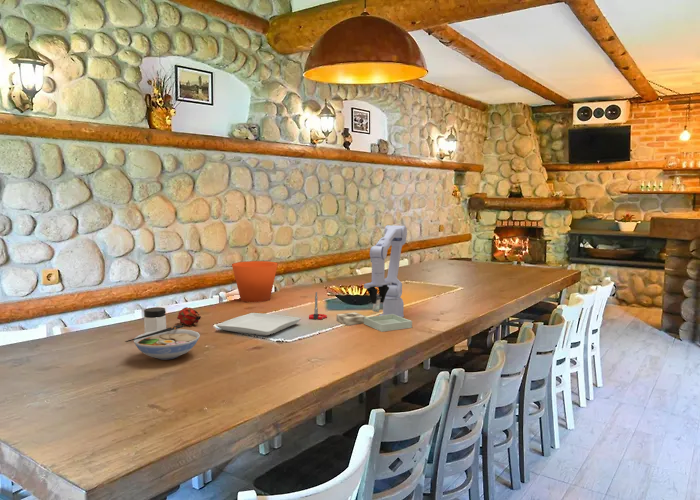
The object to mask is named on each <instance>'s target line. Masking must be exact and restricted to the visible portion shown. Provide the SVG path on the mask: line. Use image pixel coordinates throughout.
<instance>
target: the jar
mask: <svg viewBox="0 0 700 500" xmlns="http://www.w3.org/2000/svg"><path fill="white" fill-rule="evenodd" d="M166 311H167V310H166V308H165V307H161V306H156V307H154V306H153V307H148V308H145V309H144V310H143V321H144V322H143V325H144V333H147V332H152V331H158V330H164V329H167V315H166Z"/></svg>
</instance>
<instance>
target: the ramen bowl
mask: <svg viewBox="0 0 700 500" xmlns="http://www.w3.org/2000/svg"><path fill="white" fill-rule="evenodd" d="M184 325H185V324H183V325H182V324H177V325H174V326H170V327H168V328H167V327H166V329H164V330H158V331H152V332H147V333H145V332H144V333H142V334H138V335H137V336H135V337H134V338H132V339H128V340H126V341H124V342H126V343H127V342H132V341H133V343H134V344H135V347H137V349H138V350H139V351H140V352H141V353H142V354H144V355H146V356H148V357H150V358H155V359H158V360H162V361H163V360H164V361H166V360H174V359H176V358H179V357H180V356H182V355H184V354H187V353H188V352H190V351H191V350H192V349H193V348H194V347H195V345H197V342H198V341H199V339H200V336H201V334H200V333H199V332H198V331H196V330H195V331H194V330H191V329H184ZM182 328H183V329H182Z"/></svg>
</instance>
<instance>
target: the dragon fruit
mask: <svg viewBox="0 0 700 500" xmlns="http://www.w3.org/2000/svg"><path fill="white" fill-rule="evenodd" d="M201 318H202V317H201V316H200V313H199V312H198V311H197V310H195V309H194V308H192V307H187V306H186V307H183V308H182V309H181V310H180V311H178V313H177V317H176V319H177V320H179V322H180V325H181V326H182V325H186V326H188V327H193V326H194V325H195V324H198V323H199V322H200V320H201Z"/></svg>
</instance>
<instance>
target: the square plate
mask: <svg viewBox="0 0 700 500" xmlns="http://www.w3.org/2000/svg"><path fill="white" fill-rule="evenodd" d="M300 320H302V317H295V316H288V315H281V314H272V313H262V312H258V313H257V312H250V313H247V314H244V315H239V316H236V317H233V318H231V319H227V320H225V321H222V322H221V323H217V324H215V326H216V327H218V328H219V329H220V330H224V331H227V332H232V333H239V332H240V334H246V333H249V335H254V334H256V336H270V334H271V335H273V333H274V334H276V333H278V332H280V330H281V331H282V330H285V329H287V328H289V327H292V326H294V325H296V324H297V323H299V322H300Z"/></svg>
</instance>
